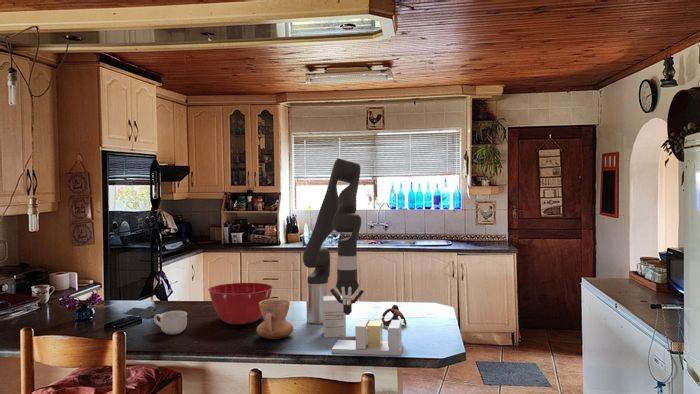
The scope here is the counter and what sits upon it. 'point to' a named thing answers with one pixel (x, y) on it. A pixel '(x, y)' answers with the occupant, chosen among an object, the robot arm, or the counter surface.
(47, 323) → the counter surface
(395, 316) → the dark brown curved loop
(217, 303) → the mixing bowl
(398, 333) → the vise
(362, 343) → the jaw
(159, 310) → the dark slate chunk
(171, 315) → the teacup
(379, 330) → the block
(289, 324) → the ceramic jug
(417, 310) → the counter surface
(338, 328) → the supplement box
